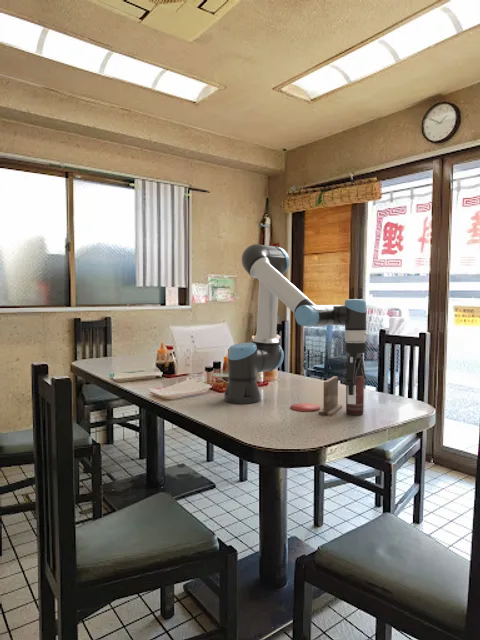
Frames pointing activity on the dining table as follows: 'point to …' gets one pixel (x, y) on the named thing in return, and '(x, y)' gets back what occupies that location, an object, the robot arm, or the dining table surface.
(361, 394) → the can
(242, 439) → the dining table surface
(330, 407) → the screen
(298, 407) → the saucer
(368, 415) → the dining table surface
